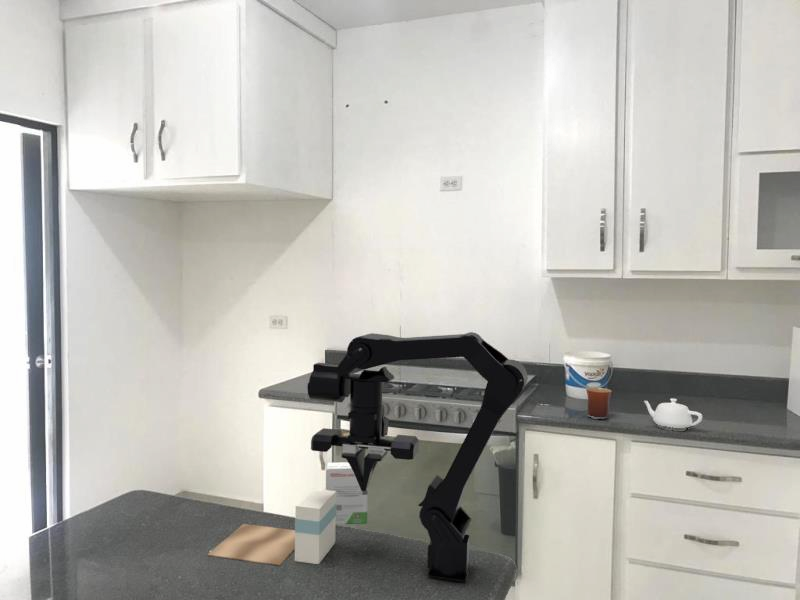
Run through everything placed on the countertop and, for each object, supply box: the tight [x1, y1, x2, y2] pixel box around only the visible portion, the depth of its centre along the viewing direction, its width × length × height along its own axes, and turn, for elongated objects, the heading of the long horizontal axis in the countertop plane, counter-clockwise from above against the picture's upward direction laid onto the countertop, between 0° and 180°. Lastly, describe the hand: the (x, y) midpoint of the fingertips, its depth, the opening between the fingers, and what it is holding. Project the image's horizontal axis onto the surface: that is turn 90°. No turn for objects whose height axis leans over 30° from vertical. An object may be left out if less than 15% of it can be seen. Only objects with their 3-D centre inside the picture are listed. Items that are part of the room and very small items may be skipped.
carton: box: [294, 488, 337, 565], centre depth 115 cm, size 5×9×10 cm, turn 167°
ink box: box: [325, 461, 368, 526], centre depth 130 cm, size 9×5×12 cm, turn 96°
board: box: [206, 523, 295, 567], centre depth 118 cm, size 14×14×1 cm
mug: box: [585, 387, 613, 417], centre depth 228 cm, size 12×9×10 cm
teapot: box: [643, 397, 703, 428], centre depth 215 cm, size 20×12×10 cm, turn 44°
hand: (364, 490), depth 113 cm, fingers closed
